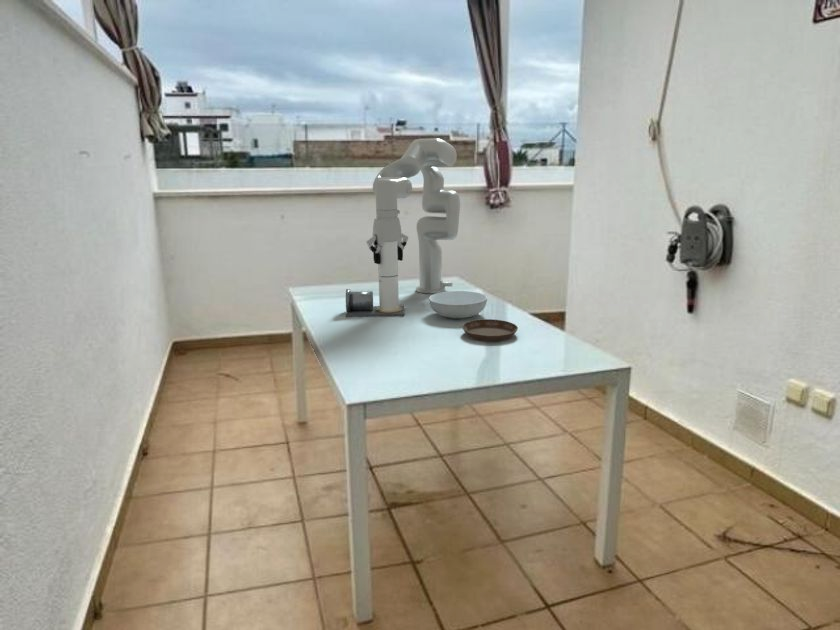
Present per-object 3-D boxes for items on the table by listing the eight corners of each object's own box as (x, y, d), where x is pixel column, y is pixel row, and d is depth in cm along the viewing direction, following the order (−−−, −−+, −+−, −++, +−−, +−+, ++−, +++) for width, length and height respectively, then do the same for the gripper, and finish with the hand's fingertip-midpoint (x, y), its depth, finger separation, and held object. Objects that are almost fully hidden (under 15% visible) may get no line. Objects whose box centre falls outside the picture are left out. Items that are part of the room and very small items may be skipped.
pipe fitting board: (404, 308, 225) (403, 285, 223) (404, 316, 213) (403, 291, 211) (348, 309, 225) (347, 285, 222) (345, 317, 213) (344, 292, 211)
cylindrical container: (391, 311, 214) (389, 243, 208) (375, 309, 218) (373, 241, 211) (402, 307, 220) (401, 240, 214) (386, 305, 224) (384, 239, 217)
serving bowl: (423, 310, 222) (423, 292, 220) (477, 306, 226) (477, 289, 224) (436, 325, 202) (436, 305, 200) (494, 321, 206) (495, 301, 204)
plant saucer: (516, 345, 180) (517, 335, 179) (459, 342, 183) (459, 333, 182) (518, 329, 197) (518, 320, 196) (465, 327, 200) (465, 318, 199)
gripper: (400, 211, 218) (402, 257, 223) (360, 215, 208) (362, 263, 213) (412, 213, 212) (413, 260, 217) (371, 217, 202) (373, 266, 207)
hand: (388, 261), depth 215 cm, fingers open, 9 cm apart
